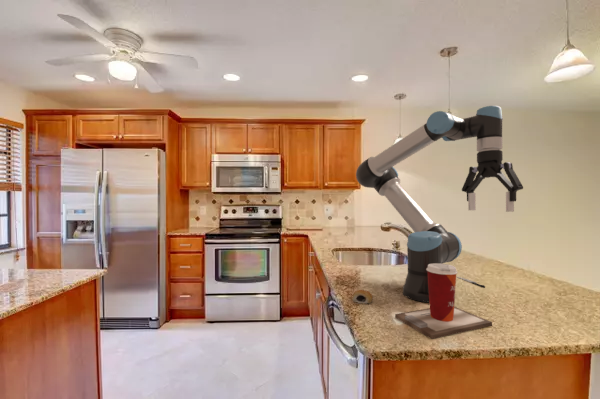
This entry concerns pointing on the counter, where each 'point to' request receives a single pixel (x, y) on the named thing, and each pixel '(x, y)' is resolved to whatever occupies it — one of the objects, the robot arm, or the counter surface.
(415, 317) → the brown framed picture
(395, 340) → the counter surface
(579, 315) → the counter surface
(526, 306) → the counter surface
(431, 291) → the coffee cup
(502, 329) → the counter surface
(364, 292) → the pastry
